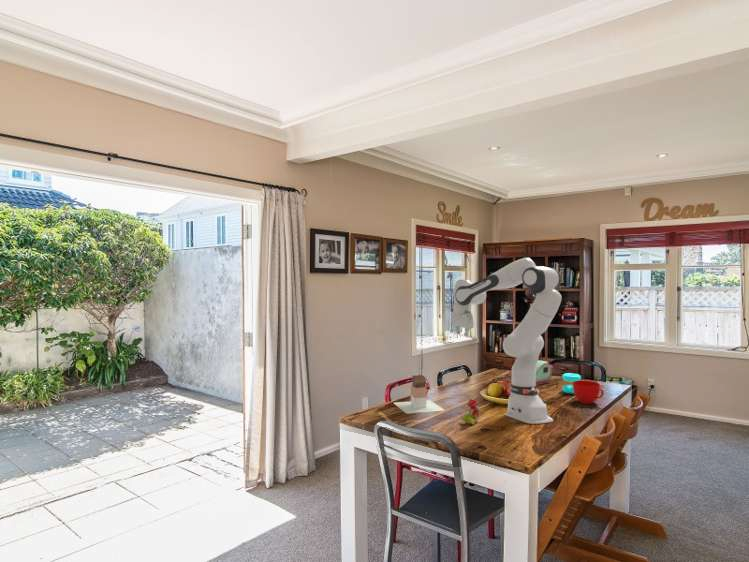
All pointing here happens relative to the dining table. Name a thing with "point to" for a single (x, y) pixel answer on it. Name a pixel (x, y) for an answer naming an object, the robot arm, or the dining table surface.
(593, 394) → the ceramic cup
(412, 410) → the baseplate
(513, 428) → the dining table surface
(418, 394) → the block
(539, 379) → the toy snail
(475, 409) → the bird rattle
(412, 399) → the block
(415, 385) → the walnut cube
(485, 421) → the dining table surface
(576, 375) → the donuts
